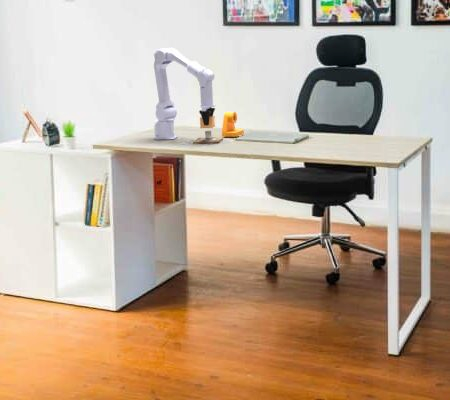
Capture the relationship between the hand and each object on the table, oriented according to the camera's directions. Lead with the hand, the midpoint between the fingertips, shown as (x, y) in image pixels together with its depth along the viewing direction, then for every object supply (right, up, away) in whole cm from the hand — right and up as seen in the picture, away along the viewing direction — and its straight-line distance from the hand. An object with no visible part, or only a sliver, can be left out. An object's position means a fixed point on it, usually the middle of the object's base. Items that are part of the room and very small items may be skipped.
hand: (207, 124), depth 448 cm
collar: (0, -1, 0) cm, 1 cm away
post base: (0, -8, +2) cm, 8 cm away
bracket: (+12, -5, +15) cm, 20 cm away
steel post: (0, -8, +2) cm, 8 cm away
